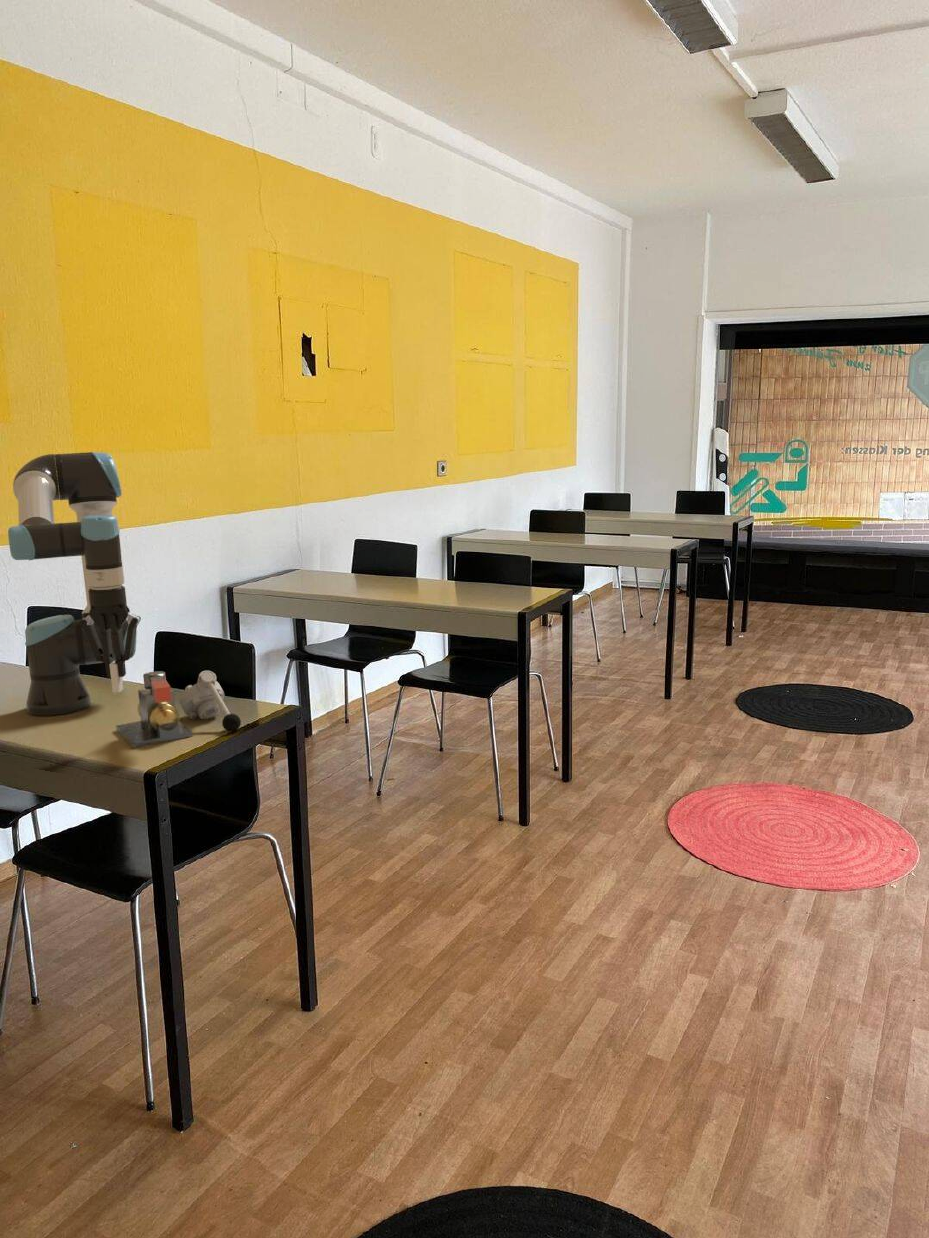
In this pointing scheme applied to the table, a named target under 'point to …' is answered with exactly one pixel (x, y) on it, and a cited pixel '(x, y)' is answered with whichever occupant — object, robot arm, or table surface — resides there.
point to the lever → (158, 686)
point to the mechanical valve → (208, 701)
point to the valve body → (154, 722)
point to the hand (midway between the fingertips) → (118, 690)
